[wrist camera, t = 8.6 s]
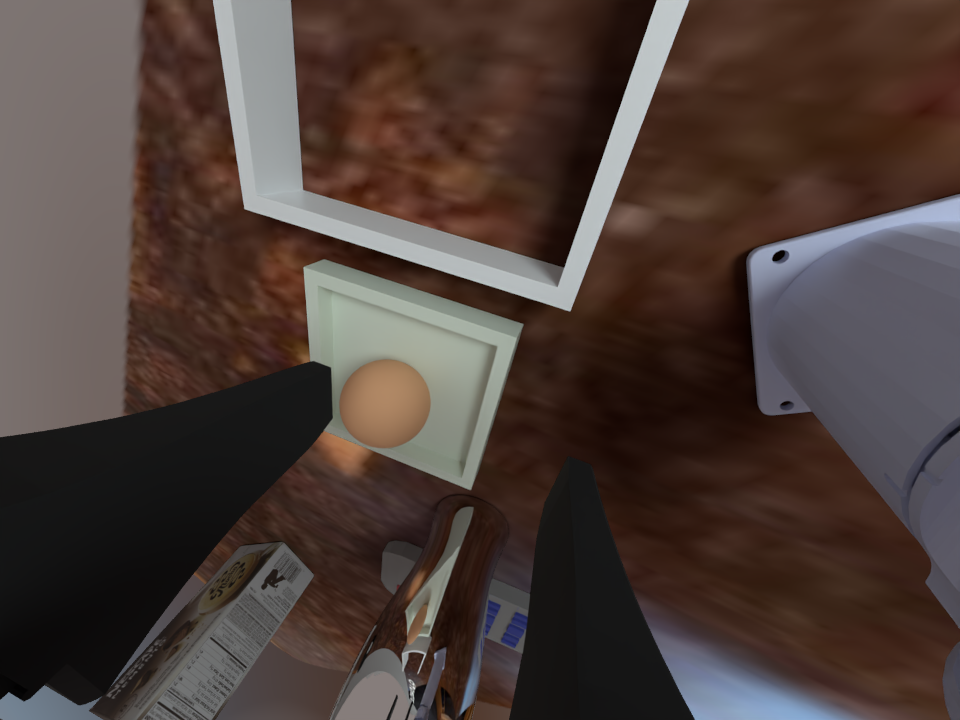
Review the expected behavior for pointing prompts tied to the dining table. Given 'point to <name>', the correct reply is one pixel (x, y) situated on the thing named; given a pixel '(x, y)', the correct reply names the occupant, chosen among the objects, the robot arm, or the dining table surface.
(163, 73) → the dining table surface
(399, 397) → the ball
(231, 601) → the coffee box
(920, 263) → the robot arm
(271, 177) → the white bent bar
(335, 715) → the beer glass
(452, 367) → the tray
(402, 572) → the remote control
